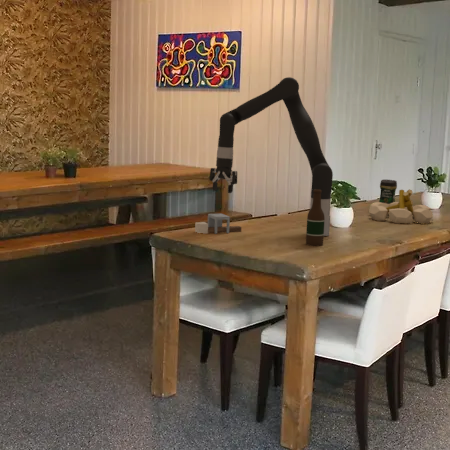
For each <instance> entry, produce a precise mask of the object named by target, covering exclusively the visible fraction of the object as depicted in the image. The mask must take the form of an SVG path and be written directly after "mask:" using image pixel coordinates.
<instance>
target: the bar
mask: <svg viewBox="0 0 450 450" xmlns="http://www.w3.org/2000/svg"><path fill="white" fill-rule="evenodd" d="M214 229H215V227H208V233H207V234H215V233H214ZM226 229H227V225H226V226H222V227H217V234H218V233H219V234H220V233H226ZM239 232H240V233H241V232H242V226H240V225H231V226H230V225H229V233H239Z"/></svg>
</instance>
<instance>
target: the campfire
mask: <svg viewBox="0 0 450 450" xmlns="http://www.w3.org/2000/svg"><path fill="white" fill-rule="evenodd" d="M412 194H413V189H408V190H406V191H405V190H404V189H399V191H398V195H399V196H398V198H399V199H398V200H399V201H395V202H393V203H391V204H386V203H381V202H379V201H375V202H373V203H371V204H370V205H369V210H368V211H369V212H368V214H369V215H370V218H371V219H372V220H374V221H376V220H377V221H376V222H384V221H386V219H387V217H388V220H390V221H391V222H392V223H394V224H400V223H408V224H410V223H413V222H418V223H417V224H420V223H426V224H430V222H431V221H432V220H433V217H434V216H433V211H432V209H431V207H429V206H427V205H424V204H415V205H414V201H413V200H412V199H411V195H412ZM413 219H414V220H413Z"/></svg>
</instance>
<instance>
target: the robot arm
mask: <svg viewBox="0 0 450 450" xmlns="http://www.w3.org/2000/svg"><path fill="white" fill-rule="evenodd" d="M299 89H300V85H299V82H298V80H297V79H295V78H294V77H291V76H288V77H285V78H282V79H281V80H280V81H279V82H278V83H277V84H276V85H275V86H273V87H272V88H270V89H269V90H267V91H265V92H264V93H262V94H260V95H257V96H255V97H253V98H252V99H249V100H247V101H245V102H243V103H242V104H240V105H239V106H237V107H235V108H233V109H231V110H229V111H228V112H226V113H223V114H222V115H221V116H220V118H219V136H218V142H217V143H218V145H217V150H216V164H215V166H216V167H211V168H210V173H209V181H211V182H212V190H213V191H217V190H218V181H219V180H221V179H222V180H225V181H226V182H227V184H228V187H227V193H228V194H231V193H233V190H234V189H233V188H234V185H236V184H238V171H237V170H232V168H233V163H234V139H235V138H234V133H235V128H236V125H239V124H240V123H241V122H242V121H246V120H248V119H250V118H252V117H254V116H255V115H257V114H259V113H260V112H262V111H265V109H267V108H268V107H270V106H272V105H274V104H276V103H278V102H280V101H283V103H284V105H285V107H286V109H287V112H288V115H289V120H290V122H291V124H292V128H293V131H294V134H295V135H296V139H297V140H298V142H299V145H300V147H301V148H302V150H303V152H304V154H305V156H306V158H307V162H308V164H309V166H310V171H311V191H310V202H309V203H310V204H309V205H310V206H309V210H310V209H311V208H312V204H313V195H314V192H313V191H314V189H320V190H321V191H322V193H321V209H322V211H323V213H324V218H325V221H324V237H325V236H327V237H329V236H330V230H331V229H330V227H331V203H332V202H331V199H332V191H333V190H332V189H333V179H334V177H333V175H334V174H333V169H332V168H331V166H330V165H329V163H328V161H327V159H326V157H325V156H324V153H323V150H322V148H321V143H320V138H319V136H318V132H317V129H316V127H315V124H314V122H313V120H312V119H311V116H310V114H309V113H308V111H307V110H306V108H305V106H304V104H303V102H302V99H301V96H300V92H299V91H300V90H299Z"/></svg>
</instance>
